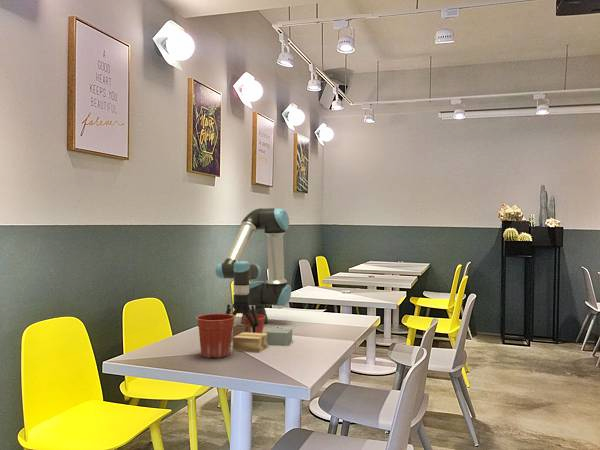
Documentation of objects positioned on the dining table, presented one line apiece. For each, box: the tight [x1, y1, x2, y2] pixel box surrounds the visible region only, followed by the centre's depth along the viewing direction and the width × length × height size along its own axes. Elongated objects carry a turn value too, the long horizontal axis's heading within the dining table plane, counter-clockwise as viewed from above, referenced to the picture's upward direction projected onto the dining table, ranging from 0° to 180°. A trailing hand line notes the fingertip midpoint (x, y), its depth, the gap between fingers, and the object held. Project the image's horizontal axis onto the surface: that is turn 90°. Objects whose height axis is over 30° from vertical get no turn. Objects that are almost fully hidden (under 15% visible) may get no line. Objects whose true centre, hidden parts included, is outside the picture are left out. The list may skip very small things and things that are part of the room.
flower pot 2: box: [243, 314, 265, 333], centre depth 252 cm, size 11×11×10 cm
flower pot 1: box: [195, 313, 236, 359], centre depth 214 cm, size 16×16×16 cm
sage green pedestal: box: [266, 327, 293, 347], centre depth 236 cm, size 10×10×6 cm
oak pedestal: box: [232, 332, 269, 353], centre depth 225 cm, size 12×12×6 cm
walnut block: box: [232, 323, 249, 338], centre depth 241 cm, size 6×6×7 cm
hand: (240, 340), depth 241 cm, fingers open, 11 cm apart
